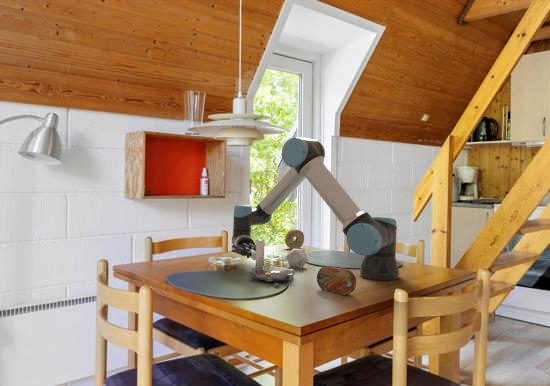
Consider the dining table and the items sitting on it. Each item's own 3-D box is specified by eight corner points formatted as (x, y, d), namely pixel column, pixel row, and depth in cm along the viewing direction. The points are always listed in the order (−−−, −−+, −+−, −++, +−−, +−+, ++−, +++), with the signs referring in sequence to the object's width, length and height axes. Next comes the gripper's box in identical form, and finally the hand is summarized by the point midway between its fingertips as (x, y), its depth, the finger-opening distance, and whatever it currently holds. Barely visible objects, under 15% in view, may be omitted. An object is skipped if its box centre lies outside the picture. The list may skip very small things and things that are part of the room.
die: (293, 271, 197) (308, 253, 197) (279, 259, 201) (293, 241, 201) (300, 275, 204) (314, 257, 204) (286, 263, 208) (300, 245, 208)
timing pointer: (273, 285, 170) (273, 282, 170) (277, 285, 171) (277, 282, 171) (275, 287, 167) (275, 285, 166) (279, 287, 167) (279, 284, 167)
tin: (315, 289, 167) (316, 264, 166) (321, 287, 169) (322, 263, 168) (351, 297, 156) (352, 271, 156) (357, 296, 158) (358, 270, 158)
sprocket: (284, 270, 190) (285, 234, 189) (303, 279, 175) (304, 240, 174) (241, 273, 183) (242, 236, 182) (257, 282, 168) (258, 242, 167)
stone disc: (301, 247, 256) (301, 228, 256) (304, 248, 253) (305, 229, 252) (283, 248, 252) (284, 229, 251) (286, 249, 248) (287, 230, 248)
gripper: (259, 254, 199) (271, 266, 176) (229, 254, 196) (236, 266, 173) (260, 236, 199) (272, 245, 176) (229, 236, 196) (237, 245, 173)
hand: (254, 256), depth 174 cm, fingers closed
